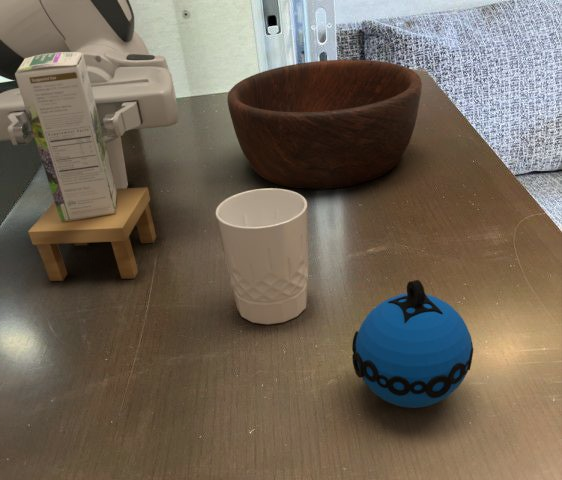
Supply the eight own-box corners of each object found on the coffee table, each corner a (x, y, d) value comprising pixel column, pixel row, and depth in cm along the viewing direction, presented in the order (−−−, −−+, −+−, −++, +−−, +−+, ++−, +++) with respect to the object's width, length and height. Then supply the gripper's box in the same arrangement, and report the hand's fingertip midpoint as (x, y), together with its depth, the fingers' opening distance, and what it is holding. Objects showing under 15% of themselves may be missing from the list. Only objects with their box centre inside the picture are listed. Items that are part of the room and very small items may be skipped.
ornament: (489, 415, 46) (508, 299, 39) (380, 445, 44) (382, 330, 38) (434, 349, 52) (443, 241, 46) (337, 374, 51) (333, 266, 44)
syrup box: (66, 201, 68) (19, 56, 59) (119, 193, 69) (82, 48, 60) (60, 223, 64) (9, 70, 55) (118, 214, 64) (77, 61, 55)
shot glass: (106, 175, 90) (93, 126, 85) (142, 182, 87) (130, 131, 82) (72, 194, 86) (56, 143, 81) (108, 201, 82) (94, 148, 78)
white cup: (214, 309, 60) (196, 211, 54) (273, 275, 64) (263, 181, 58) (271, 339, 55) (258, 236, 49) (330, 301, 59) (326, 201, 53)
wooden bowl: (267, 216, 75) (258, 129, 68) (218, 151, 94) (207, 78, 87) (453, 174, 80) (460, 89, 73) (370, 121, 98) (371, 49, 92)
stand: (46, 282, 67) (27, 231, 63) (78, 239, 75) (62, 191, 71) (136, 280, 66) (122, 227, 62) (159, 235, 73) (147, 186, 70)
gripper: (-2, 71, 70) (-54, 108, 59) (178, 54, 69) (159, 88, 58) (18, 128, 74) (-27, 173, 63) (189, 113, 73) (172, 156, 62)
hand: (64, 132), depth 60 cm, fingers open, 8 cm apart
